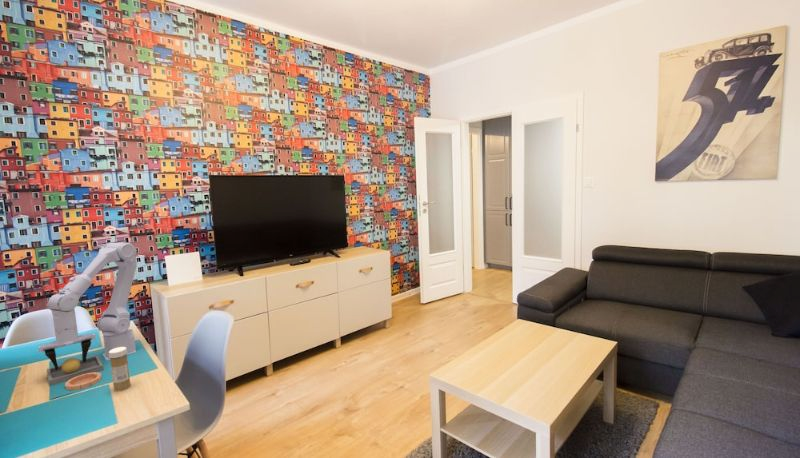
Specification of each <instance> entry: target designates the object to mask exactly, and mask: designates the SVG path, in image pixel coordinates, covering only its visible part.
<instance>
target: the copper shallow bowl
mask: <svg viewBox="0 0 800 458" xmlns="http://www.w3.org/2000/svg"><path fill="white" fill-rule="evenodd" d="M102 378H103V377H102V373H101V372H93V373H86V374H82V375H79V376H76V377H74V378H72V379H70V380H68V381H65V382H64V384H65V389H66V390H68V391H77V390H83V389H85V388H88V387H91V386H94V385H95V384H97V383H99V382H100V381H101V380H102Z"/></svg>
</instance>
